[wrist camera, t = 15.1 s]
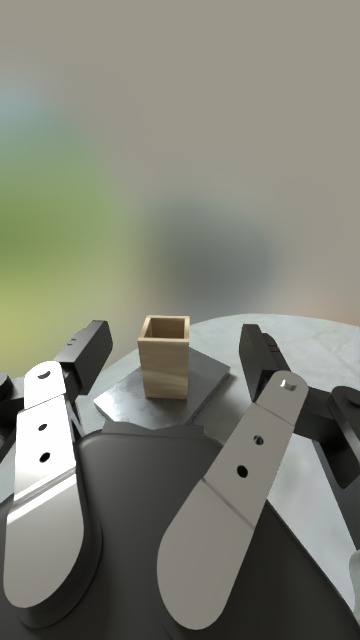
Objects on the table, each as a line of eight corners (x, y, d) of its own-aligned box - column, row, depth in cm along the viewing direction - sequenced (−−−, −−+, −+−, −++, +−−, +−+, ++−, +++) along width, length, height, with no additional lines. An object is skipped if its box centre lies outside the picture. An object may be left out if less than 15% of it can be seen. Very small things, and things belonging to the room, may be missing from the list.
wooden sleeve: (152, 367, 34) (147, 315, 29) (188, 368, 33) (189, 316, 28) (145, 397, 28) (137, 340, 23) (187, 399, 28) (188, 342, 23)
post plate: (175, 346, 41) (175, 312, 37) (229, 373, 34) (235, 336, 30) (95, 407, 29) (82, 367, 25) (155, 467, 22) (150, 426, 18)
